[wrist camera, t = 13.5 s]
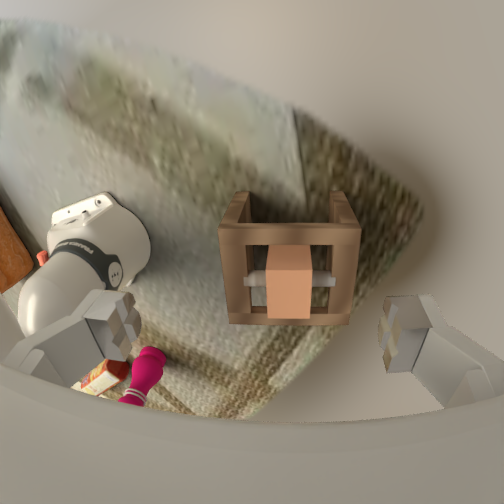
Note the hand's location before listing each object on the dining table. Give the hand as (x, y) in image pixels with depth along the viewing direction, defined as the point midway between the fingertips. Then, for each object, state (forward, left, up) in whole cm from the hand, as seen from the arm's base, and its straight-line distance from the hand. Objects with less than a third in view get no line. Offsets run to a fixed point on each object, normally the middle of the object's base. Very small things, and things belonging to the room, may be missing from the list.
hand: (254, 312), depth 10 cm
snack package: (-48, -56, -38) cm, 82 cm away
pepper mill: (-30, -46, -37) cm, 66 cm away
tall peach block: (+1, -15, -29) cm, 33 cm away
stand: (+1, -15, -37) cm, 40 cm away
